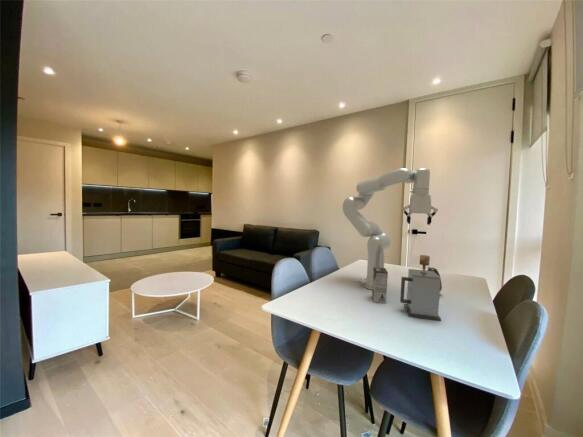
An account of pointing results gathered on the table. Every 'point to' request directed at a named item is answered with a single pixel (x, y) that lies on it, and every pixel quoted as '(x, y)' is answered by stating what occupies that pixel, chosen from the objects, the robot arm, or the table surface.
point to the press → (421, 294)
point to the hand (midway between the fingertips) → (418, 224)
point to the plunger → (424, 262)
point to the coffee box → (379, 285)
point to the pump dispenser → (437, 274)
